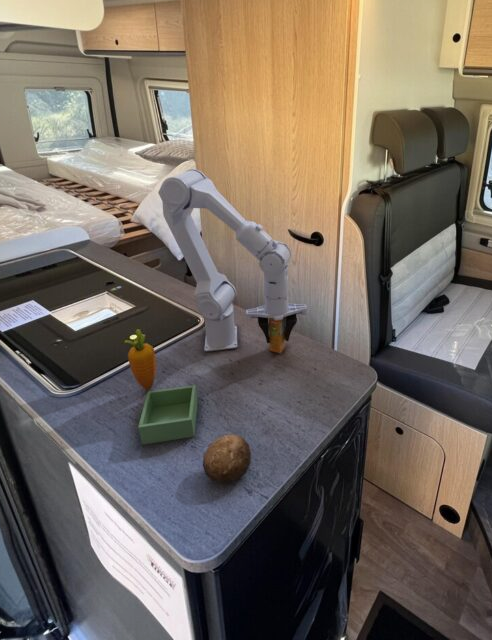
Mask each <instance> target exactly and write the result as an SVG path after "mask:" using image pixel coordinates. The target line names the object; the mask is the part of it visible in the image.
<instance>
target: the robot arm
mask: <svg viewBox="0 0 492 640" xmlns="http://www.w3.org/2000/svg"><path fill="white" fill-rule="evenodd" d="M157 193H158V195H159V198H160V199H161V201H162V215H163V218H164V220H165V222H166V224H167V226H168V229H169V230H170V232H171V234H172V236H173V238H174V240H175V242H176V244H177V246H178V248H179V251H180V253H181V254H182V256H183V258H184V260H185V262H186V264H187V266H188V268H189V271H190V272H191V274H192V277H193V279H194V280H195V282H196V285H195V291H194V298H195V301H196V307H197V312H198V314H199V315H200V316H201V317H203V320H204V329H205V337H204V338H205V339H204V352H214V351H222V350H232V349H237V348H238V327H237V325H235V315H234V314H235V313H234V305H233V301H234V300H235V299H236V298H237V289H236V287H235V286H234V284H232V282H230V281H229V280H228V278H227V276H226V275H225V274H223V273H220V272H218V269H217V267H216V265H215V263H214V261H213V259H212V256H211V254H210V252H209V250H208V248H207V246H206V243H205V241H204V239H203V238H202V235H201V234H200V231H199V229H198V227H197V225H196V223H195V221H194V218H193V216H192V213H193V211H194V209H207V210H208V211H209V212H211V213H212V214H213V215H214V216H215V217H216V218H218V219H219V220H220V221H221V222H223V223H224V224H225V225H226V226H227V227H229V228H230V229H231V230H233V231H234V232H235V240H236V241H237V242H238V243H239V244H240V245H242V247H244V248H245V249H246V250H247V251H248V252H249V253H250V254H251V255H252V256H254V257H255V258H256V259H257V260H258V261H259V262H258V265H259V268H260V270H261V271H262V273H263V292H264V293H263V295H264V305H261V306H257V307H254V308H253V307H252V308H248V309H246V310H245V313H246V321H252V320H253V319H257V324H258V327H259V328H260V329H261V331H262V333H263V334H264V337H265V339H266V344H270V338H269V318H274V320H282V319H283V317H285V339H286V342H289V341H290V337H291V334H292V332H293V328H294V327H295V326H296V324H297V322H298V317H297V315H302V316H307V313H308V312H307V311H308V309H307V308H308V307H307V304H305V303H304V304H300V303H299V304H297V303H289V265H288V263H290V261H291V257H292V251H291V249H290V248H289V247H288V246H287V245H288V244H287V243H284V242H281V241H277V240H276V239H274V238H272V236H270V234H268V233H267V232H266V231H265V230H264V226H263V225H262V224H261V223H258V224H257V223H256V222H255V221H252V220H246V219H245V218H244V216H243V215H241V214H240V213H239V212H238V210H237V209H236V208H234V206H233V205H232V204H231V203H230V202H229V201H228V200H227V199H226V198H225V197H224V196H223V195H222V194H221V193H220V192H219V191H218V190H217V188H216V185H215V184H214V182H213V181H212V180H211V179H210V178H209V177H207V176H206V175H205V174H204V173H203V171H201V170H199V169H196V168H191V169H187V170H185V171H184V172H182V173H179V174H176V175H174V176H170V177H167V178H166V179H164V180H163V182H162V183H161V185H160V188H159V190H158V191H157Z"/></svg>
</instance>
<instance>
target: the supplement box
mask: <svg viewBox="0 0 492 640" xmlns="http://www.w3.org/2000/svg"><path fill="white" fill-rule="evenodd" d="M268 322H269V338H270V343H269V351H270V352H273V353H277V354H281V353H282V352H283V351H284V350H285V348H286V346H287V341H286V339H285V317H283V319H282V320H274V318H268Z"/></svg>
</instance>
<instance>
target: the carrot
mask: <svg viewBox="0 0 492 640" xmlns="http://www.w3.org/2000/svg"><path fill="white" fill-rule="evenodd" d="M134 332H135V335H136V337H135V340H134V341H132V340H127V339H126V340H124V344H129V345H131V346H132V347H131V348H130V349H129V351H128V353H127V360H128V363H129V367H130V370H131V373H132V375H133V377H134V379H135V380H136V382H137V384H138V385H139V386H140V387H142V388H143V389H144V390H146V391H151V389H152V387H153V385H154V382H155V379H156V369H157V361H156V354H155V353H156V352H155V349H154V347H153V346H152V345H150V344H149V343H146V342H145V339H146V334H144V333H142V330H141V329H139V328H138V329H136V330H135V331H134Z"/></svg>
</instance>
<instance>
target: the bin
mask: <svg viewBox="0 0 492 640" xmlns="http://www.w3.org/2000/svg"><path fill="white" fill-rule="evenodd" d="M198 403H199V401H198V393H197V386H196V384H194V385H185V386H177V387H170V388H169V387H168V388H162V389H161V388H160V389H155V390H147V393H146V397H145V400H144V404H143V408H142V412H141V415H140V419H139V423H138V426H137V428H138V433H139V438H140V442H141V445H142V446H144V445H145V446H146V445H151V444H158V443H163V442H169V441H176V440H182V439H188V438H193V437H195V432H196V423H197V413H198V405H199V404H198Z"/></svg>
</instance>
